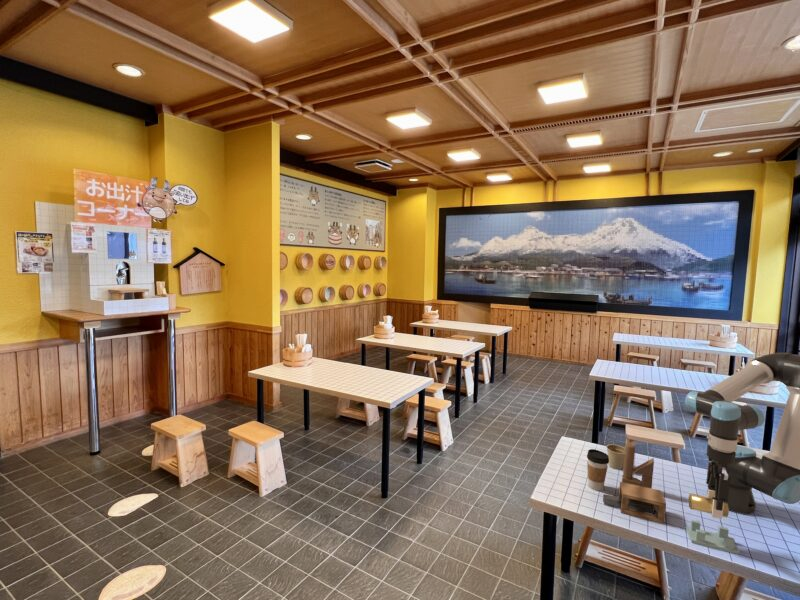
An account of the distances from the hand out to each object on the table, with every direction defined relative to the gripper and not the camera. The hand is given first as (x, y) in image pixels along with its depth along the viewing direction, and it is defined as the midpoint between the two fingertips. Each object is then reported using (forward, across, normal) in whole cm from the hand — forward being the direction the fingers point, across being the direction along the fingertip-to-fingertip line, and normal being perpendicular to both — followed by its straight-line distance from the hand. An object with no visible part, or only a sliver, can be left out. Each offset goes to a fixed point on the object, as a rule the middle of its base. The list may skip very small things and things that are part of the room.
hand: (713, 512), depth 137 cm
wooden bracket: (+11, -27, -19) cm, 35 cm away
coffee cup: (+11, -20, -35) cm, 42 cm away
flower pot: (+11, -44, -25) cm, 52 cm away
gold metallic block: (-2, 0, -2) cm, 3 cm away
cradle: (+10, 0, 0) cm, 10 cm away
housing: (+10, -9, -20) cm, 24 cm away
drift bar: (+11, -10, -24) cm, 28 cm away
